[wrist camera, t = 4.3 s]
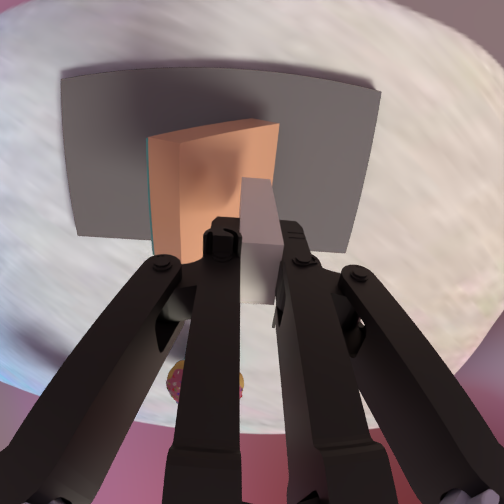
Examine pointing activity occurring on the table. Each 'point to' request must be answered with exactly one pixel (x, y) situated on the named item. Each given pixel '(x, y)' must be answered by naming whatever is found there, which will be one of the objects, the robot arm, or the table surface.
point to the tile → (203, 179)
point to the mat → (211, 112)
